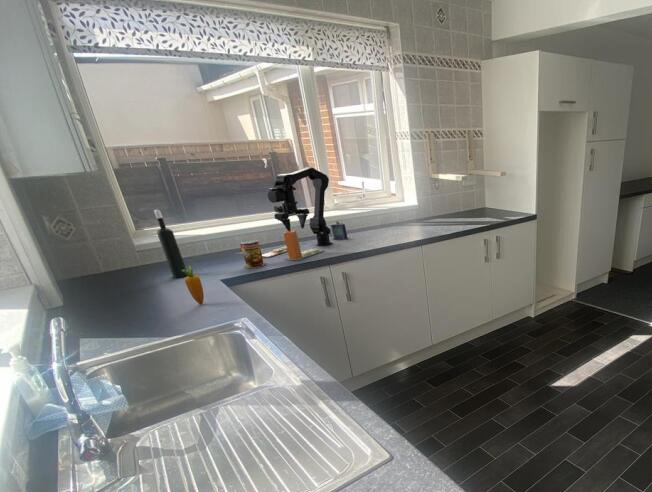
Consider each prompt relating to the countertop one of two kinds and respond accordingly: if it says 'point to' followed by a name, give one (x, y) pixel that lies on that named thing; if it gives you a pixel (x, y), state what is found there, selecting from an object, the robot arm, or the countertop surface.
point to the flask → (338, 231)
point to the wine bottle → (170, 248)
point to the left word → (275, 252)
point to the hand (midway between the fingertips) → (296, 230)
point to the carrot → (194, 286)
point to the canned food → (252, 253)
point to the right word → (306, 254)
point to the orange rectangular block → (292, 244)
